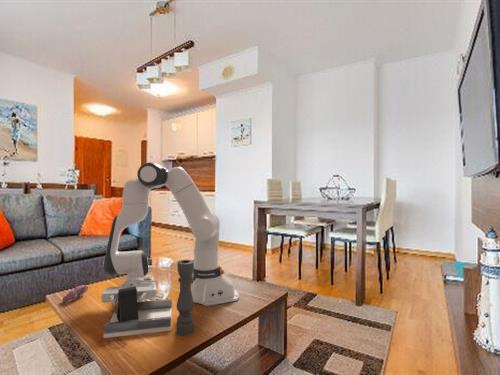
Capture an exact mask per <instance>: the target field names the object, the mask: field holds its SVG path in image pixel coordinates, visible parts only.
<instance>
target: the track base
mask: <svg viewBox="0 0 500 375" xmlns="http://www.w3.org/2000/svg"><path fill="white" fill-rule="evenodd" d="M172 309H173V308H164V309H154V310H143V311H138V319H149V318H159V317H169V316H171V317H172ZM109 322H119V321H118V319H117V313H114V312H113V314H112V317H111V319H110V320H109ZM171 328H172V325H171V326H170V327H161V328H152V329H143V330H133V331H124V332H115V333H105V334H104V333H103V339H107V338H108V339H109V338H115V337H116V338H117V337H124V336H135V335H143V334H152V333H160V332H170V331H172V329H171Z"/></svg>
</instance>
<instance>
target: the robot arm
mask: <svg viewBox="0 0 500 375" xmlns="http://www.w3.org/2000/svg"><path fill="white" fill-rule="evenodd" d="M136 174H137V178H132V179H129V180H126V182H125V183H124V186H123V190H122V198H121V209H120V211H119V213H118V214H117V215H115V216H114V218H113V220H112V223H111V226H110V232H109V236H108V241H107V242H108V243H107V245H106V246H107V247H106V250H105V255H104V257H103V258H104V259H103V262H102V263H103V264H102V269H103V270H102V271H103V272H105V273H106V274H107V275H108V276H110V277H111V276H117V275H124V274H125V275H126V277H125V278H124V280H123V282H122V284H121V285H120V286H118V285H117V286H109V287H107V288H105V289H104V290H103V291H102V293H101V295H100V298H101V300H100V301H101V302H102V303H110V304H111V305H113V306H114V305H115V304H117V303H118V290H120V289H125V288H130V287H135V286H136V288H137V302H144V301H146V300H151V299H152V300H153V299H155V298H157V284H156V283H155V279H154V278H148V277H147V275H148V273H149V271H148V263H149V264H150V258H149V255H148V254H147V253H146V252H145V251H144V250H129V251H128V250H127V251H119V249H118V248H119V244H120V243H119V242H120V238H121V235H122V234H121V233H122V232H123V230H125V229H127V228H128V227H131V226H133V225H136V224H139V223H140V222H142V221H144V220H145V218H146V217H147V216H148V213H149V195H150V192H151V191H154V190H157V189H160V188H163V187H167V188H168V189H169V191H170V193H171V194H172V196H173V197H174V199H175V200H176V202H177V204H178V206H179V207H180V208H181V210H182V212H183V214H184V217H185V218H186V221H187V224H188V225H189V227H190V229H191V233H192V234H193V237H195V241H194V249H193V260H194V271H193V274H192V278H193V281H192V285H191V293H192V297H193V301H194V304H195V303H196V304H201V305H202V306H205V307H206V306H207V307H209V306H215V305H219V304H226V303H232V302H236V301H238V300H239V298H240V296H239V292H238V290H236V289H235V286H234V284H233V281H231V279H230V278H228V277H227V276H226V275H224V273H225V270H224V269H223V267H221V266H220V265H219V241H220V219H219V216H218V215H217V214H215V213H214V212H211V211H210V209H209V206H208V204H207V202H206V200H205V198H204V196H203V194H202V193H201V191H200V190H199V188H198V186H197V185H196V183H195V181H194V180H193V179H192V177H191V176H190V174H189V173H188V172H187V171H186V170H185V168H183V167H181V166H173V167H172V168H168V169H167V168H165V167H164V166H162V165H160V164H158V163H155V162H153V161H152V162H145V163H143V164H141V165H140V167H139V168H138V170H137V172H136ZM148 260H149V262H148ZM144 276H146V278H145V277H144Z"/></svg>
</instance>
